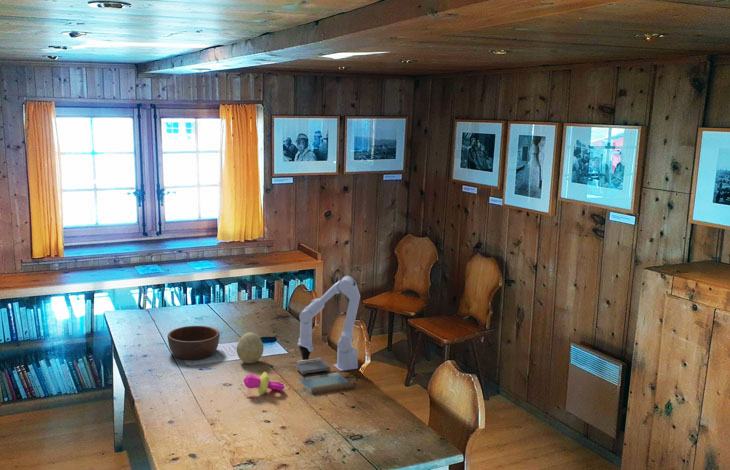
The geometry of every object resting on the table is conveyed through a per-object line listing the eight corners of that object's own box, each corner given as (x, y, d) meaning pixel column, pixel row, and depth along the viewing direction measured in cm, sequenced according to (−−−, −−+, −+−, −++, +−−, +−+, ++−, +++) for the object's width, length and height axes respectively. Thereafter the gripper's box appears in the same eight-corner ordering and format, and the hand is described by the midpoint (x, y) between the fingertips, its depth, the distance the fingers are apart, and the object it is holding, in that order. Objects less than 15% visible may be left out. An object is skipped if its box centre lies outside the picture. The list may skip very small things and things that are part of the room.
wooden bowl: (157, 357, 330) (156, 336, 328) (188, 341, 353) (188, 322, 351) (200, 365, 321) (199, 345, 319) (229, 349, 344) (229, 330, 342)
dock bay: (336, 373, 319) (336, 367, 318) (353, 388, 302) (353, 382, 302) (296, 379, 310) (296, 373, 309) (311, 395, 294) (311, 388, 293)
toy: (284, 399, 290) (289, 375, 293) (244, 392, 283) (249, 367, 286) (277, 399, 298) (281, 376, 302) (237, 392, 292) (242, 368, 295)
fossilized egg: (234, 359, 330) (234, 329, 327) (259, 356, 335) (259, 327, 332) (239, 368, 319) (240, 338, 316) (266, 365, 324) (266, 335, 321)
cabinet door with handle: (322, 365, 326) (322, 357, 325) (330, 372, 318) (330, 363, 317) (295, 369, 320) (295, 360, 319) (302, 376, 312) (302, 367, 311)
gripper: (292, 330, 329) (292, 356, 332) (303, 339, 316) (303, 367, 319) (306, 328, 332) (305, 355, 335) (317, 338, 320) (316, 365, 322)
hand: (305, 360), depth 327 cm, fingers closed
